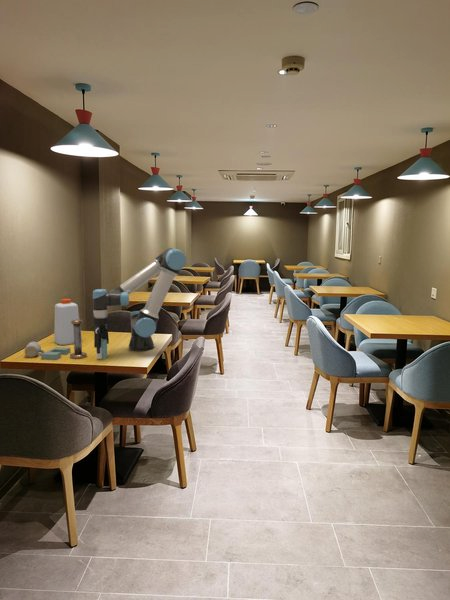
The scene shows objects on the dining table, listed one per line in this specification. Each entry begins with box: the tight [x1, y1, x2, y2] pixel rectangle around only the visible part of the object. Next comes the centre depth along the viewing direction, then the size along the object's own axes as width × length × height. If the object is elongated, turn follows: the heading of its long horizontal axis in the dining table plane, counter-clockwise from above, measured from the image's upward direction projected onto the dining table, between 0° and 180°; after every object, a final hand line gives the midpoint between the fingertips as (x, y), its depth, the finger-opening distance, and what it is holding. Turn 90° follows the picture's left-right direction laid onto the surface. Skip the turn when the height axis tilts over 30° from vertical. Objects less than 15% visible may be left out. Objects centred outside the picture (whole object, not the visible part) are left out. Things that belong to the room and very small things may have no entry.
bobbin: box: [69, 319, 88, 360], centre depth 260 cm, size 9×9×21 cm
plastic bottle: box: [53, 298, 83, 346], centre depth 294 cm, size 15×15×28 cm
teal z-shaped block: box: [41, 346, 72, 361], centre depth 264 cm, size 9×16×3 cm, turn 171°
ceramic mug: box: [24, 341, 46, 358], centre depth 263 cm, size 11×8×8 cm
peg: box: [101, 339, 108, 359], centre depth 260 cm, size 4×4×10 cm
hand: (102, 356), depth 260 cm, fingers open, 7 cm apart
